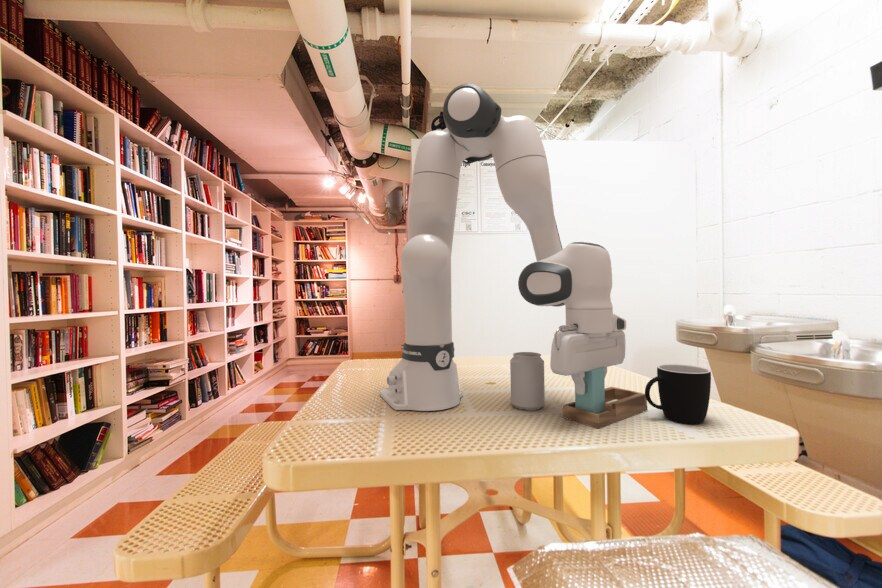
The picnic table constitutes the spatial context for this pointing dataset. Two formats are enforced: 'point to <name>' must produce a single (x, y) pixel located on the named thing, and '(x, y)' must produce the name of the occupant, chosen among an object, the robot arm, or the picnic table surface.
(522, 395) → the can
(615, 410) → the brown wooden tray
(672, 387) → the mug
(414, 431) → the picnic table surface
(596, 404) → the block
